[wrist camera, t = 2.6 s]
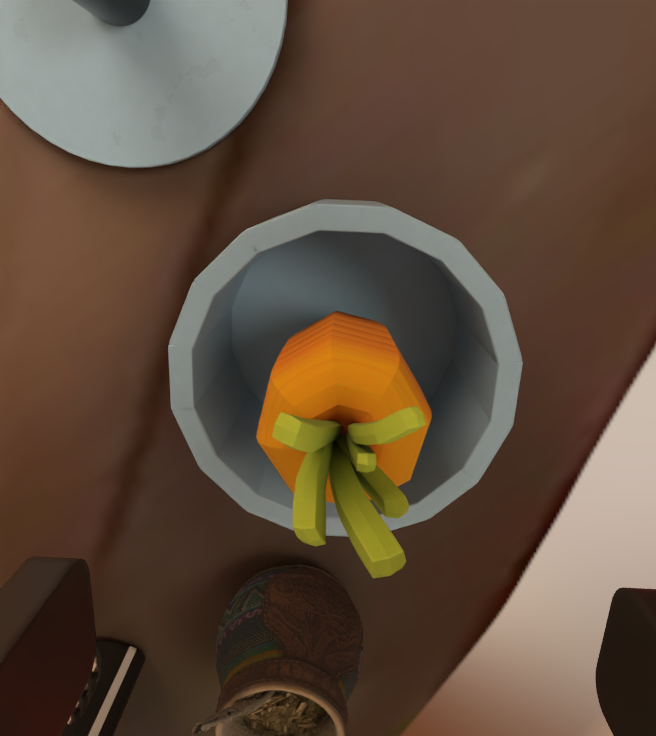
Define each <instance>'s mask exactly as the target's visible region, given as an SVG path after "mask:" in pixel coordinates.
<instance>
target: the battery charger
mask: <svg viewBox="0 0 656 736" xmlns="http://www.w3.org/2000/svg"><path fill="white" fill-rule="evenodd" d="M144 661H145V655H144V654H143V653H142V652H140V651H137V648H134V647H132V646H130V647H127V646H125V645H122V644H120V643H116V642H112V641H105V640H102V641H97V642H96V654H95V660H94V665H93V669H92V672H91V676H90V678H89V681H88V684H87V686H86V688H85V690H84V692H83V694H82V696H81V698H80V700H79V701H78V703H77V705H76V707H75V709H74V711H73V713H72V715H71V717H70V719H69V721H68V723H67V725H66V727H65V728H64V730H63V732H62V734H61V736H113V735H114V733H115V730H116V728H117V726H118V723H119V721H120V718H121V716H122V714H123V711H124V709H125V706H126V704H127V702H128V699H129V697H130V694H131V692H132V690H133V687H134V685H135V683H136V680H137V678H138V676H139V673H140V671H141V668H142V666H143V664H144Z"/></svg>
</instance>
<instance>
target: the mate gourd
mask: <svg viewBox="0 0 656 736" xmlns="http://www.w3.org/2000/svg"><path fill="white" fill-rule="evenodd" d="M362 643H363V628H362V623H361V621H360V616H359V615H358V613H357V610H356V609H355V605H353V602H352V600H350V597H349V595H348V593H347V591H346V590H345V588H344V587H343V586H342V584H341V583H340V582H339V581H338V580H337V579H335V578H334V577H333V576H331V575H330V574H328V573H326V572H325V571H323V570H321V569H319V568H315V567H312V566H308V565H302V564H296V565H289V566H286V565H285V566H279V567H273V568H269V569H266V570H264V571H262V572H260V573H258V574H256V575H255V576H253V577H252V578H250V579H249V580H248V581H246V582H245V583H244V584H243V585H242V586H241V588H240V589H239V591H238V592H237V594H236V595H235V596H234V597H232V599H231V602H230V604H229V605H228V607H227V609H226V610H225V612H224V614H223V617H222V619H221V621H220V622H219V627H218V631H217V635H216V647H215V652H216V667H217V672H218V675H219V681H220V684H221V691H222V692H221V694H220V697H219V702H218V704H217V711H215V712H216V713H215V714H213V715H211V716H210V717H208V718H206V719H204V720H202V721H200V722H199V723H198V724H196V725H195V726H194V728H193V730H192V736H193V735H195V734H197V733H199V732H202V731H204V732H205V733H206V731H208V729H210V728H212V732H213V736H348V728H347V720H348V718H347V717H348V713H347V706H346V703H347V701H348V699H349V697H350V695H351V693H352V691H353V689H354V687H355V685H356V682H357V680H358V677H359V671H360V668H361V662H362V652H363V646H362Z"/></svg>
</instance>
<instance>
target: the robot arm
mask: <svg viewBox="0 0 656 736" xmlns="http://www.w3.org/2000/svg"><path fill="white" fill-rule="evenodd" d="M95 654H96V632H95V622H94V612H93V603H92V593H91V583H90V574H89V568H88V565H87V563H86V561H85V560H83V559H74V558H54V557H31V558H29V559H27V560H26V561H25V562H24V563H23V564H22V565H21V566H20V568H19V569H18V570H17V571H16V572H15V573H14V575H13V576H12V577H11V578H10V579H9V580H8V582H7V583H6V584H5V585H4V586H3V587H2V589H1V590H0V736H61V734H62V732H63V730H64V728H65V727H66V725H67V723H68V721H69V719H70V717H71V715H72V713H73V711H74V709H75V707H76V705H77V703H78V701H79V700H80V698H81V696H82V694H83V692H84V690H85V688H86V686H87V684H88V681H89V678H90V676H91V672H92V669H93V665H94V660H95ZM596 688H597V694H598V699H599V703H600V707H601V709H602V712H603V715H604V716H605V719H606V721H607V723H608V725H609V727H610V729H611V731H612V733H613V735H614V736H656V589H639V588H638V589H637V588H619V589H618V590H617V591H616V592H615V594H614V596H613V599H612V602H611V607H610V611H609V615H608V619H607V624H606V628H605V632H604V637H603V641H602V645H601V650H600V654H599V658H598V662H597V667H596Z"/></svg>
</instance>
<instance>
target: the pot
mask: <svg viewBox="0 0 656 736" xmlns="http://www.w3.org/2000/svg"><path fill="white" fill-rule="evenodd" d="M335 311H340V312H344V313H348V314H352V315H356V316H359V317H363V318H367V319H371V320H374V321H377V322H379V323H381V324H382V325H384V326H386V328H387V330H388V332H389V333H390V335H391V337H392V339H393V340H394V342H395V344H396V346H397V347H398V349H399V351H400V353H401V355H402V356H403V358H404V360H405V362H406V363H407V365H408V367H409V369H410V370H411V372H412V374H413V376H414V377H415V379H416V381H417V383H418V384H419V386H420V388H421V390H422V392H423V394H424V396H425V398H426V401H427V403H428V405H429V407H430V409H431V412H432V418H431V421H430V424H429V427H428V430H427V433H426V436H425V438H424V441H423V444H422V447H421V450H420V453H419V456H418V459H417V462H416V465H415V467H414V470H413V473H412V476H411V479H410V480H409V481H407V482H405V483H403V484H401V485H399V486H397V487H398V488H399V489H400V490H401V491H402V492H403V494H404V495H405V496H406V499H407V501H408V504H409V509H408V511H407V513H406V514H404V515H403V516H402V517H400V518H387V517H385V516H384V514H383V513H382V512H381V511H380V509H379V508H378V507H377V506H376V504H375V503H374V502H373V501H372V499H371V500H370V502H371V503H372V505H373V506H374V507H375V509H376V510H377V512H378V513H379V515H380V516H381V517H382V519H383V520H384V522H385V523H386V525H387V526H388V528H389V529H390V531H391V530H395V529H398V528H401V527H405V526H408V525H412V524H415V523H418V522H422V521H425V520H427V519H430V518H431V517H432V516H434V515H435V514H436V513H438V512H439V511H440V510H442V509H443V508H444V507H446V506H447V505H449V504H450V503H451V502H453V501H454V500H455V499H457V498H458V497H459V496H461V495H462V494H463V493H465V492H466V491H467V490H469V489H470V488H471V487H473V486H474V485H475V484H477V483H478V482H479V481H478V480H480V479H481V477H482V475H483V474H484V472H485V471H486V469H487V467H488V466H489V464H490V462H491V461H492V459H493V458H494V456H495V454H496V453H497V451H498V450H499V448H500V446H501V445H502V443H503V441H504V440H505V438H506V437H507V435H508V433H509V432H510V430H511V428H512V426H513V423H514V416H515V410H516V403H517V397H518V390H519V384H520V377H521V371H522V364H523V362H522V356H521V352H520V349H519V345H518V342H517V338H516V334H515V331H514V327H513V323H512V320H511V316H510V313H509V309H508V305H507V302H506V298H505V297H504V293H503V292H502V291H501V290H500V289H499V287H498V286H497V285H496V284H495V283H494V281H493V280H492V279H491V278H490V277H489V275H488V274H487V273H486V272H485V271H484V269H483V268H482V267H481V266H480V265H479V263H478V262H477V261H476V260H475V259H474V258H473V256H472V255H471V254H470V253H469V252H468V250H467V249H466V248H465V247H464V246H463V244H462V243H461V242H460V241H458V240H457V239H456V238H454V237H452V236H450V235H448V234H446V233H444V232H442V231H440V230H438V229H436V228H434V227H432V226H430V225H428V224H426V223H424V222H421V221H419V220H417V219H415V218H413V217H411V216H409V215H407V214H405V213H403V212H401V211H399V210H397V209H395V208H393V207H390V206H388V205H385V204H383V203H380V202H377V201H357V200H334V199H323V200H318V201H316V202H313V203H311V204H308V205H305V206H303V207H300V208H297V209H295V210H292V211H290V212H287V213H285V214H282V215H279V216H277V217H274V218H272V219H269V220H267V221H265V222H262V223H260V224H258V225H255V226H253V227H251V228H248V229H246V230H245V231H243V232H242V233H241V234H240V235H239V236H238V237H237V238H236V239H235V240H234V241H233V242H232V243H231V244H230V245H229V246H228V247H227V248H226V249H225V250H224V251H223V252H222V253H221V254H220V255H219V256H218V257H217V258H216V259H215V260H214V261H213V262H212V263H211V264H209V265H208V266H207V267H206V268H205V269H204V270H203V271H202V272H201V273H200V274H199V275H198V276H197V277H196V278H195V280H194V282H193V283H192V285H191V287H190V290H189V292H188V295H187V298H186V300H185V303H184V305H183V308H182V311H181V313H180V316H179V318H178V321H177V323H176V326H175V329H174V331H173V334H172V336H171V339H170V341H169V345H168V355H169V376H170V397H171V410H173V414H174V416H175V418H176V420H177V422H178V424H179V426H180V429H181V431H182V433H183V435H184V437H185V439H186V441H187V443H188V445H189V447H190V449H191V451H192V453H193V456H194V458H195V460H196V462H197V464H198V466H199V467H200V469H201V470H202V471H203V472H204V473H205V474H206V475H208V476H209V477H210V478H211V479H212V480H213V481H214V482H215V483H216V484H217V485H218V486H219V487H221V488H222V489H223V490H224V491H225V492H226V493H227V494H228V495H229V496H230V497H231V498H232V499H234V500H235V501H236V502H237V503H238V504H239V505H240V506H241V507H242V508H243V509H245V510H246V511H247V512H249V513H252V514H254V515H257V516H259V517H262V518H264V519H266V520H269V521H271V522H274V523H276V524H279V525H281V526H283V527H286V528H288V529H291V530H293V531H294V529H293V500H294V493H292V492H291V490H290V489H289V487H288V486H287V484H286V483H285V481H284V480H283V478H282V477H281V475H280V474H279V472H278V471H277V469H276V468H275V467H274V465H273V464H272V462H271V461H270V459H269V458H268V456H267V455H266V453H265V452H264V450H263V449H262V447H261V446H260V444H259V443H258V440H257V438H256V435H257V429H258V425H259V421H260V417H261V413H262V409H263V404H264V400H265V396H266V392H267V388H268V384H269V380H270V375H271V371H272V369H273V367H274V365H275V363H276V360H277V358H278V356H279V354H280V352H281V351H282V349H283V347H284V346H285V344H286V343H287V341H288V339H289V338H291V337H292V336H294V335H295V334H296V333H298V332H300V331H301V330H303V329H305V328H307V327H308V326H310V325H312V324H314V323H315V322H317V321H319V320H321V319H322V318H324V317H326V316H328V315H329V314H331V313H333V312H335ZM326 535H327V536H347V537H349V536H348V534H347V532H346V530H345V528H344V526H343V524H342V522H341V520H340V517H339V515H338V512H337V509H336V505H335V503H331V502H327V501H326Z"/></svg>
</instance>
